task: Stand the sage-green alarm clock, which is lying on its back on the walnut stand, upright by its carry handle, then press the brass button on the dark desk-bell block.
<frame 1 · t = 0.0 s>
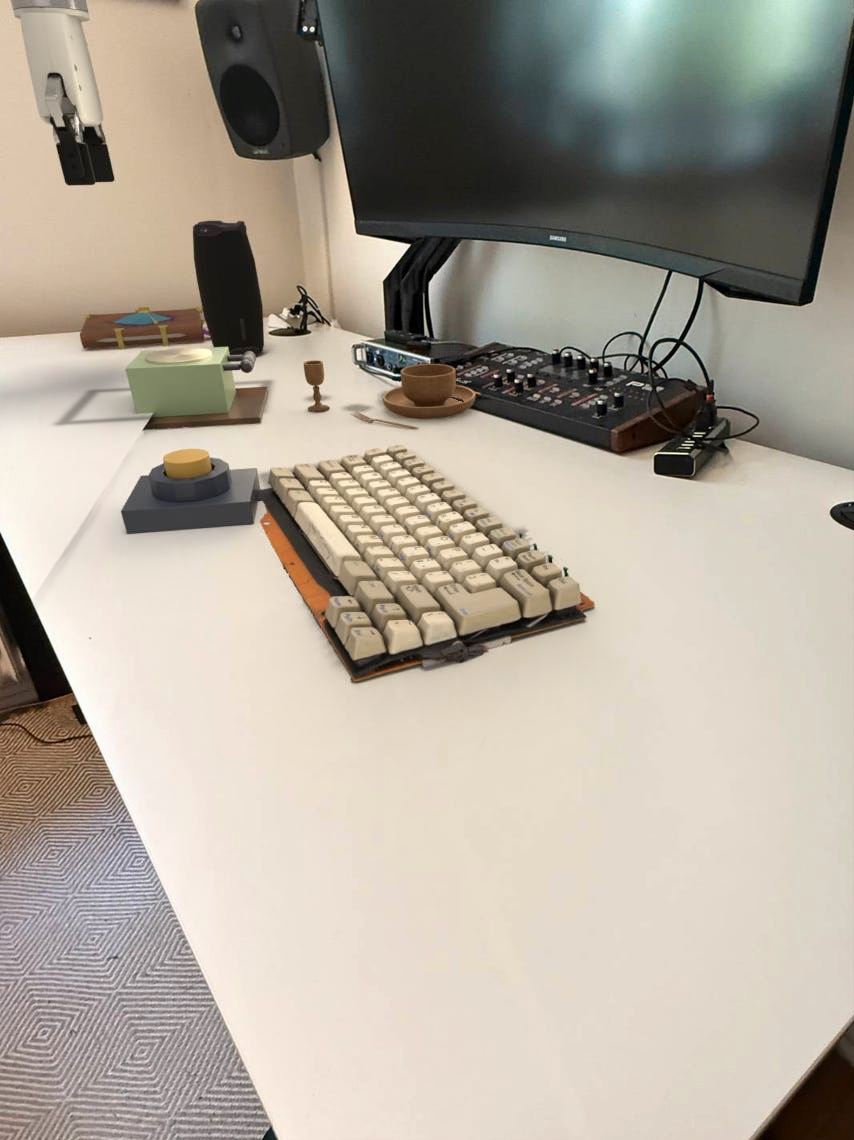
hand: (91, 183, 96), 26 cm above the table, tool pointing down, fingers open, 9 cm apart
mechanical keyboard: (393, 552, 68), on the table, touching bell block
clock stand: (174, 412, 104), on the table
bell button: (187, 464, 73), point 4 cm above the table, slide at 0.1 cm
portable speaker: (240, 356, 132), on the table
bell block: (197, 510, 75), on the table
place setting: (403, 406, 105), on the table
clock: (198, 379, 102), point 4 cm above the table, hinge at 90.0°
book: (159, 338, 145), on the table
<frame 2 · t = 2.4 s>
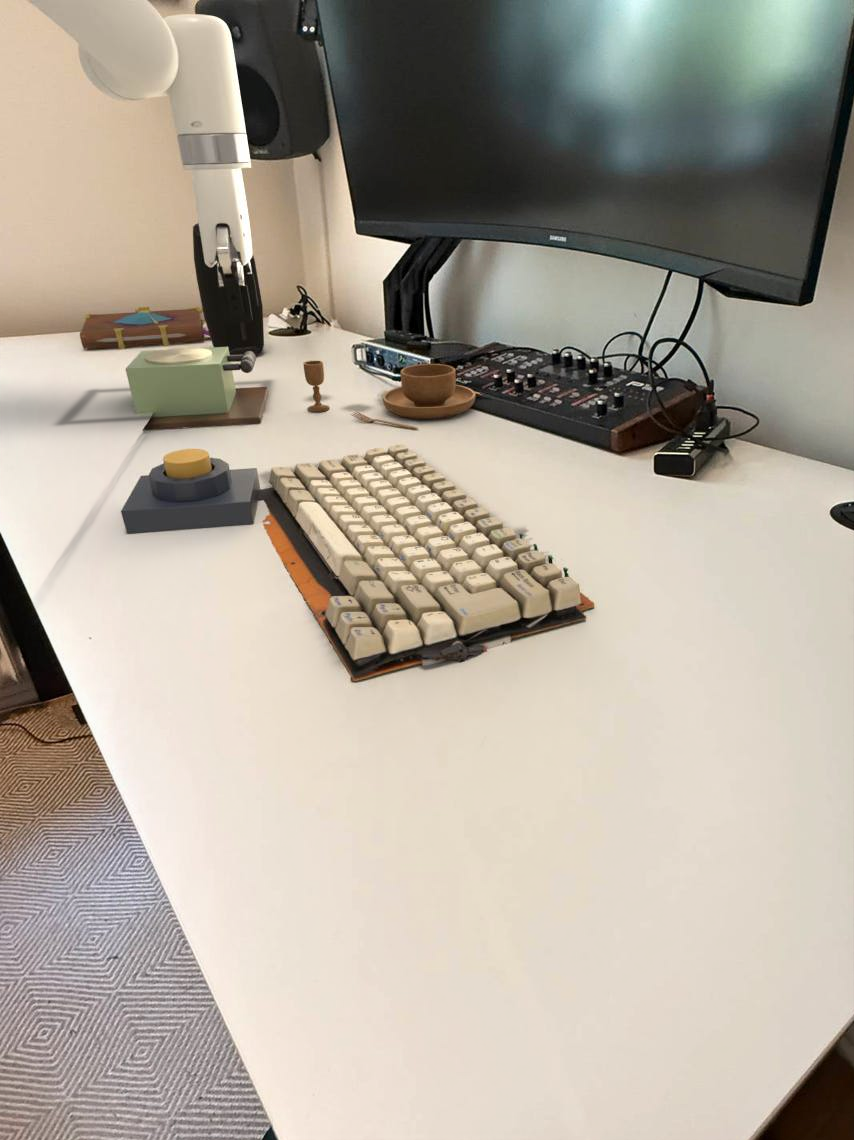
hand: (242, 315, 99), 11 cm above the table, tool pointing down, fingers open, 9 cm apart
nothing on the table moved.
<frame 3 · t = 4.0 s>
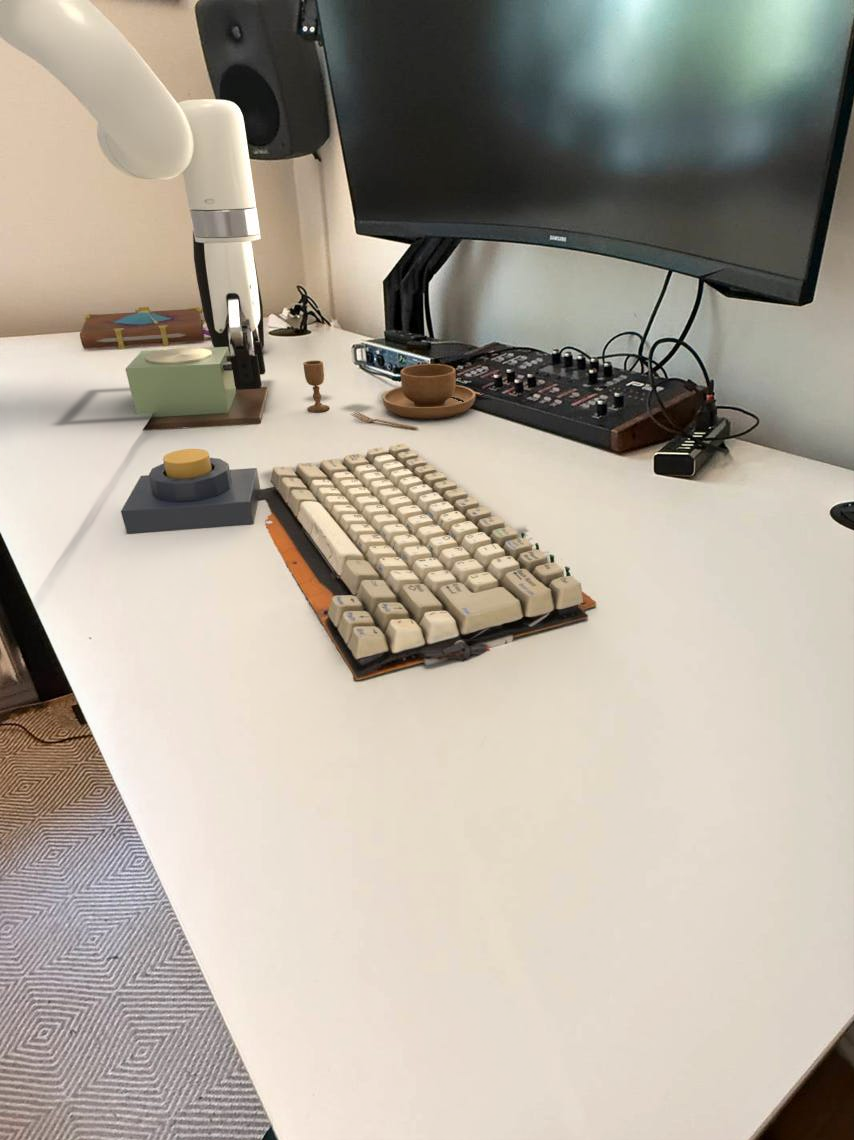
hand: (251, 380, 103), 4 cm above the table, tool pointing down, fingers closed on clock, 6 cm apart
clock: (198, 379, 102), point 4 cm above the table, hinge at 90.0°, touching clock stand, gripper
everything else where it was.
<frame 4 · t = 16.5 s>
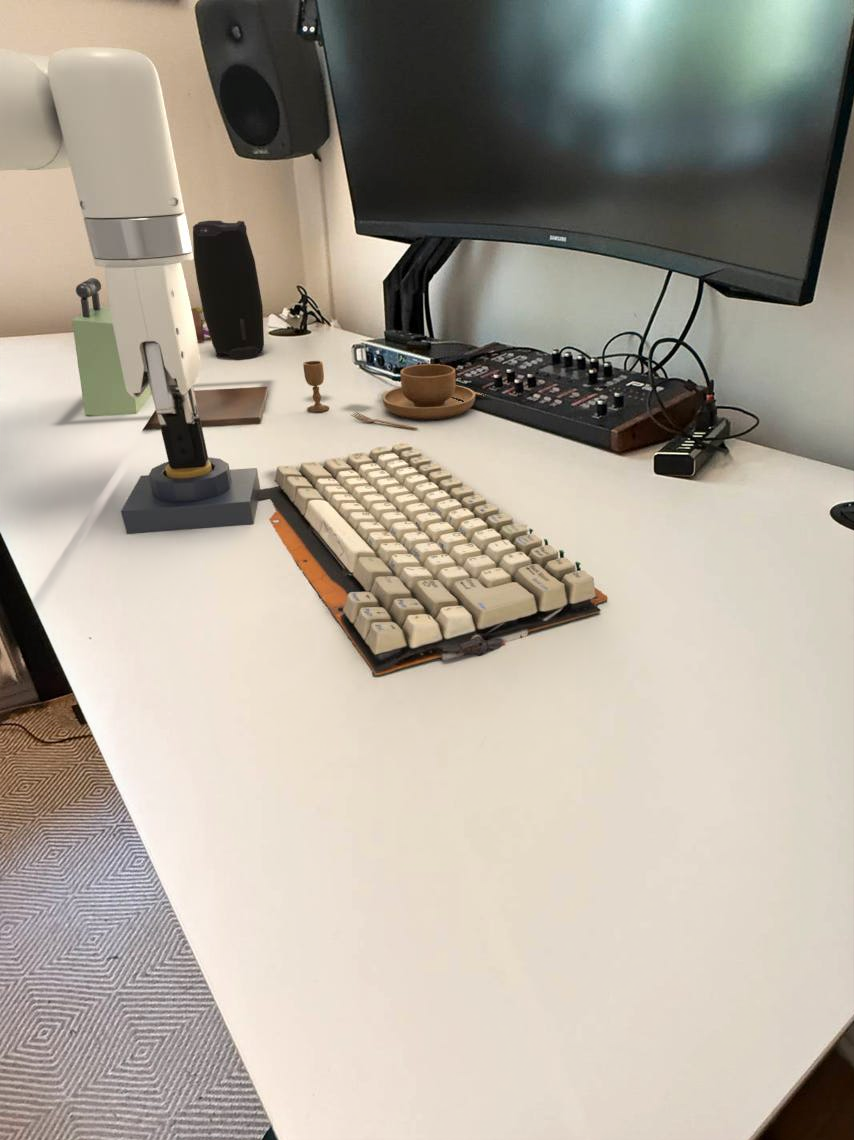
hand: (189, 464, 73), 4 cm above the table, tool pointing down, fingers closed
bell button: (189, 474, 73), point 4 cm above the table, slide at -0.8 cm, touching gripper
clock: (111, 346, 99), point 8 cm above the table, hinge at 7.4°, touching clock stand
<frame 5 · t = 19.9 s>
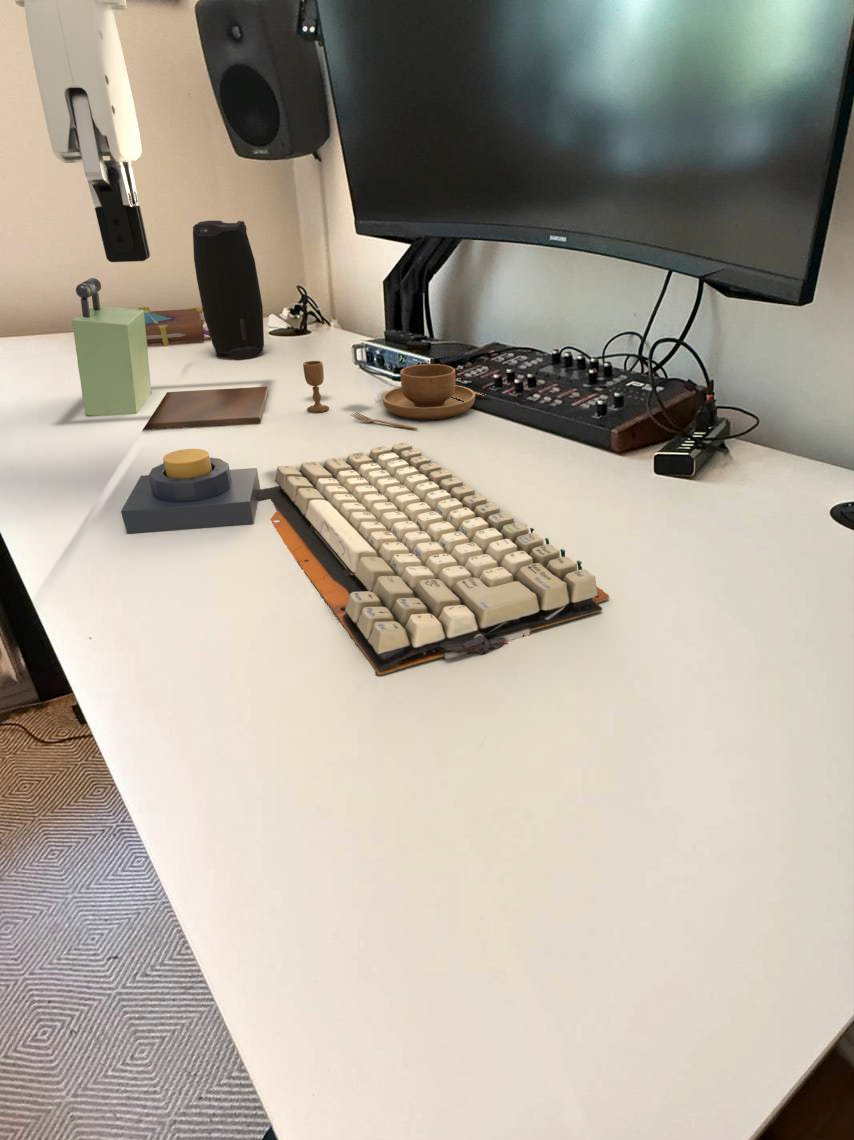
hand: (129, 259, 67), 21 cm above the table, tool pointing down, fingers closed
bell button: (187, 464, 73), point 4 cm above the table, slide at 0.1 cm
at the end: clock at +7° (first picture: +90°); bell button pushed in 1.1 cm at the most during the clip, back to where it started at the end; bell button slide at 0.1 cm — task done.
